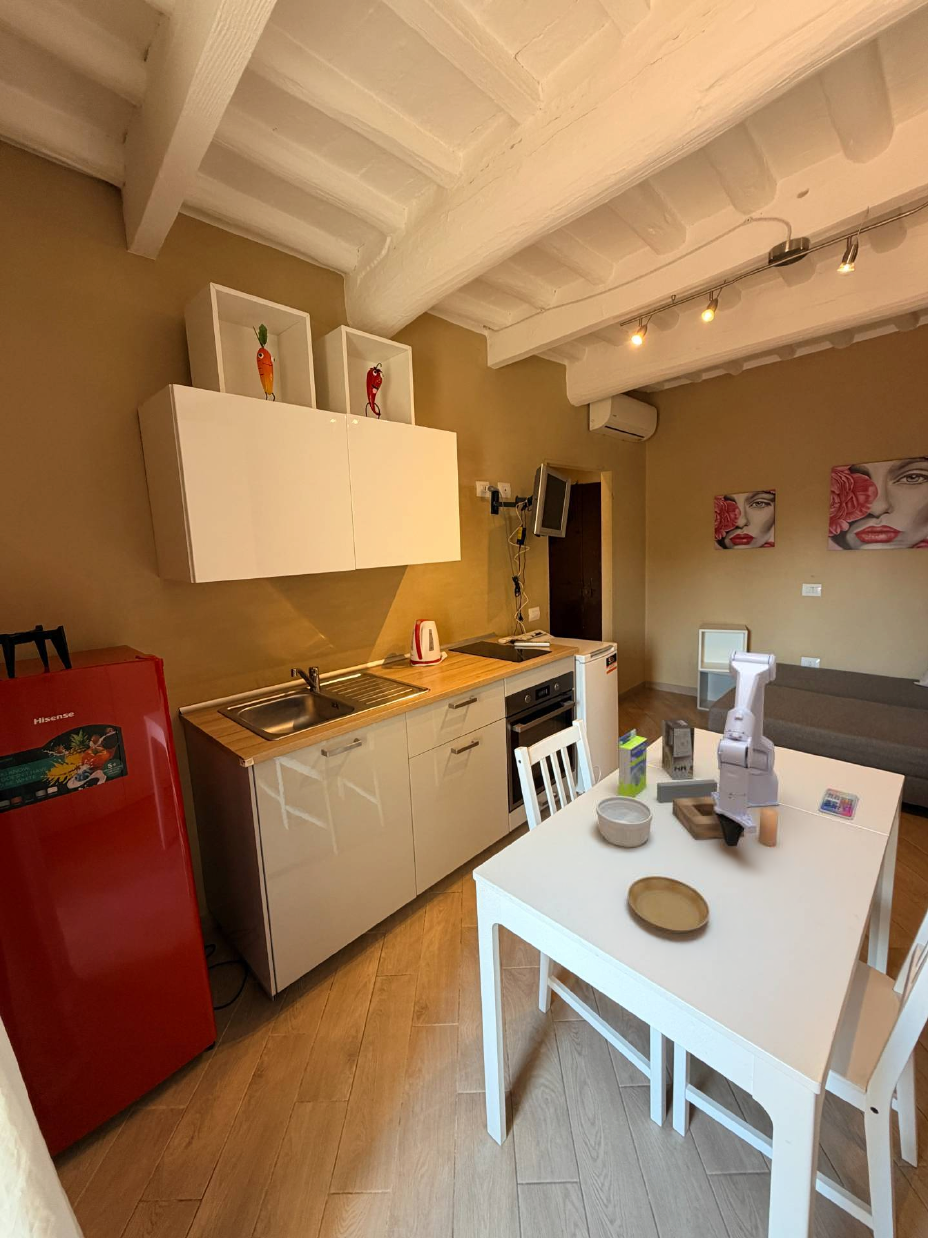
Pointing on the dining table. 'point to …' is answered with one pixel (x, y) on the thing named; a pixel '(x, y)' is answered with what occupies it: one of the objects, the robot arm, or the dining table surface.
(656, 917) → the plant saucer
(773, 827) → the dowel
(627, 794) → the box
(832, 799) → the smartphone
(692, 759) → the coffee box
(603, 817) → the ramekin
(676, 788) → the wall
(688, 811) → the socket block
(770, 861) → the dining table surface
